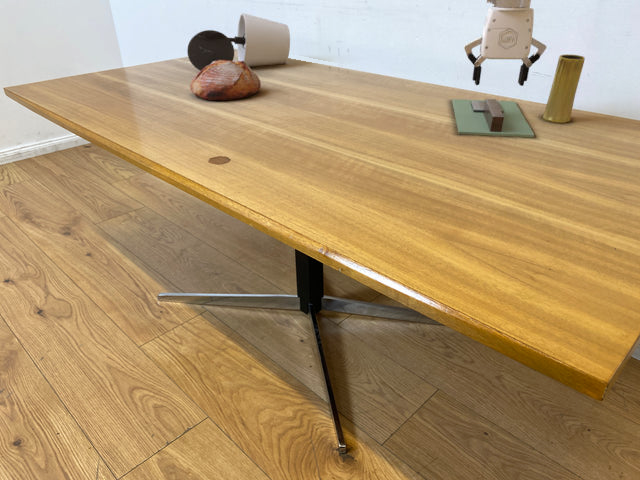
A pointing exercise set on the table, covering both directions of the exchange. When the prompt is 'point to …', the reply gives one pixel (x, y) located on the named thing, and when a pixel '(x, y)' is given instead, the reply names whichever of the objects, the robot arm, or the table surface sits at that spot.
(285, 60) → the light fixture
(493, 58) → the robot arm
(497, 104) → the spatula
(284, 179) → the table surface
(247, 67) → the bread
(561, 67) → the vase
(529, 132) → the mat
